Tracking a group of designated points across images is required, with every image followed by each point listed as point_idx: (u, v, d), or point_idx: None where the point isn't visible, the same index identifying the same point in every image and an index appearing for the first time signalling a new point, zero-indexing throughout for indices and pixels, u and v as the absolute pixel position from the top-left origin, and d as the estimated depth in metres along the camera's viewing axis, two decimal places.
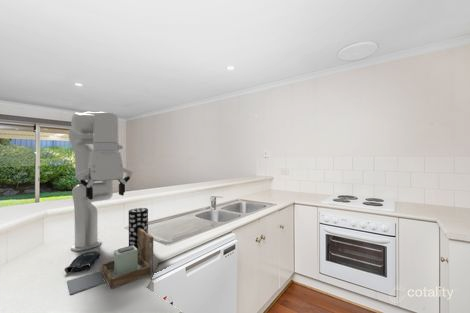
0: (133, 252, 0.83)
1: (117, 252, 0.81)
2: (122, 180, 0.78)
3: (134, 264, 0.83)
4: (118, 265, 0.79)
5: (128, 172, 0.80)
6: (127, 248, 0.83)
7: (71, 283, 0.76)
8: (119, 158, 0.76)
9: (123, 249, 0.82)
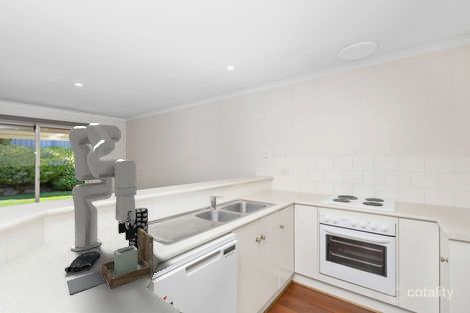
0: (133, 252, 0.83)
1: (117, 252, 0.81)
2: None
3: (134, 264, 0.83)
4: (118, 265, 0.79)
5: None
6: (127, 248, 0.83)
7: (71, 283, 0.76)
8: None
9: (123, 249, 0.82)
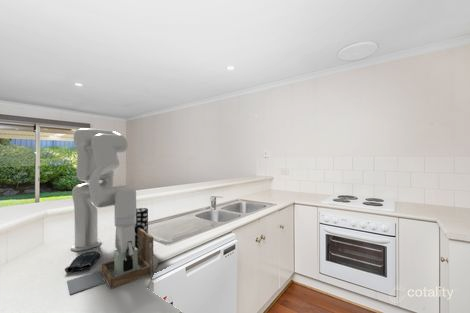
0: (133, 252, 0.83)
1: (117, 252, 0.81)
2: None
3: (134, 264, 0.83)
4: (118, 265, 0.79)
5: None
6: None
7: (71, 283, 0.76)
8: None
9: None
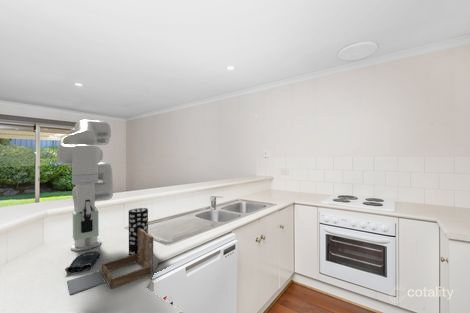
0: (93, 213, 0.76)
1: (75, 212, 0.75)
2: None
3: (95, 226, 0.77)
4: (75, 226, 0.73)
5: None
6: None
7: (71, 283, 0.76)
8: None
9: None
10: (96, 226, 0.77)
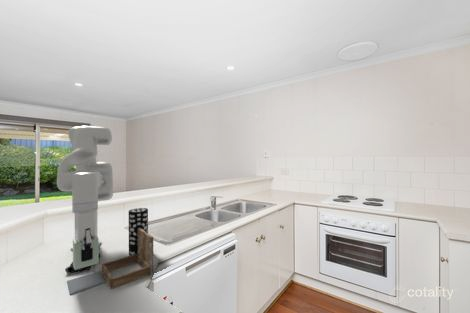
0: (93, 241, 0.76)
1: (75, 241, 0.75)
2: None
3: (95, 254, 0.77)
4: (75, 254, 0.73)
5: None
6: None
7: (71, 283, 0.76)
8: None
9: None
10: (96, 253, 0.77)
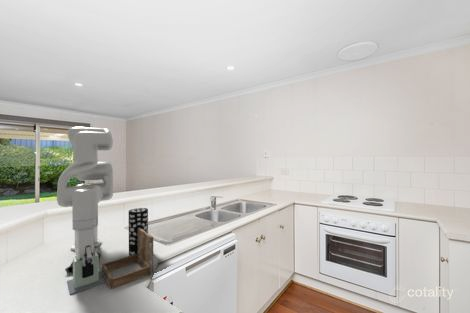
0: (93, 258, 0.77)
1: (75, 259, 0.75)
2: None
3: (95, 271, 0.77)
4: (75, 273, 0.73)
5: None
6: None
7: (71, 283, 0.76)
8: None
9: None
10: (96, 271, 0.77)
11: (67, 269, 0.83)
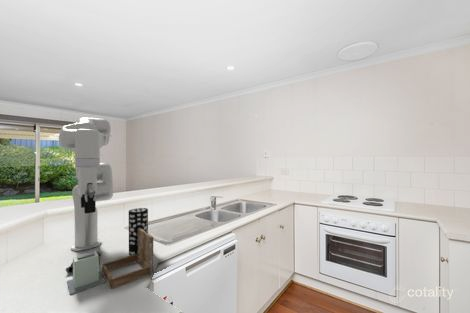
0: (93, 258, 0.77)
1: (75, 259, 0.75)
2: None
3: (95, 271, 0.77)
4: (75, 273, 0.73)
5: None
6: (87, 254, 0.77)
7: (71, 283, 0.76)
8: None
9: (82, 255, 0.76)
10: (96, 271, 0.77)
11: (67, 269, 0.83)
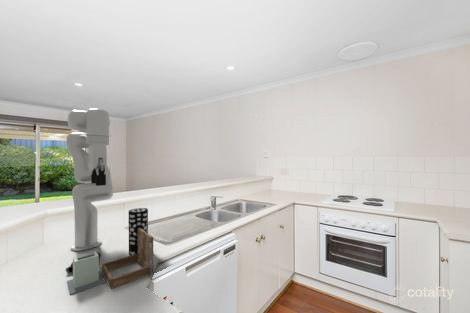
0: (93, 258, 0.77)
1: (75, 259, 0.75)
2: None
3: (95, 271, 0.77)
4: (75, 273, 0.73)
5: None
6: (87, 254, 0.77)
7: (71, 283, 0.76)
8: None
9: (82, 255, 0.76)
10: (96, 271, 0.77)
11: (67, 269, 0.83)
